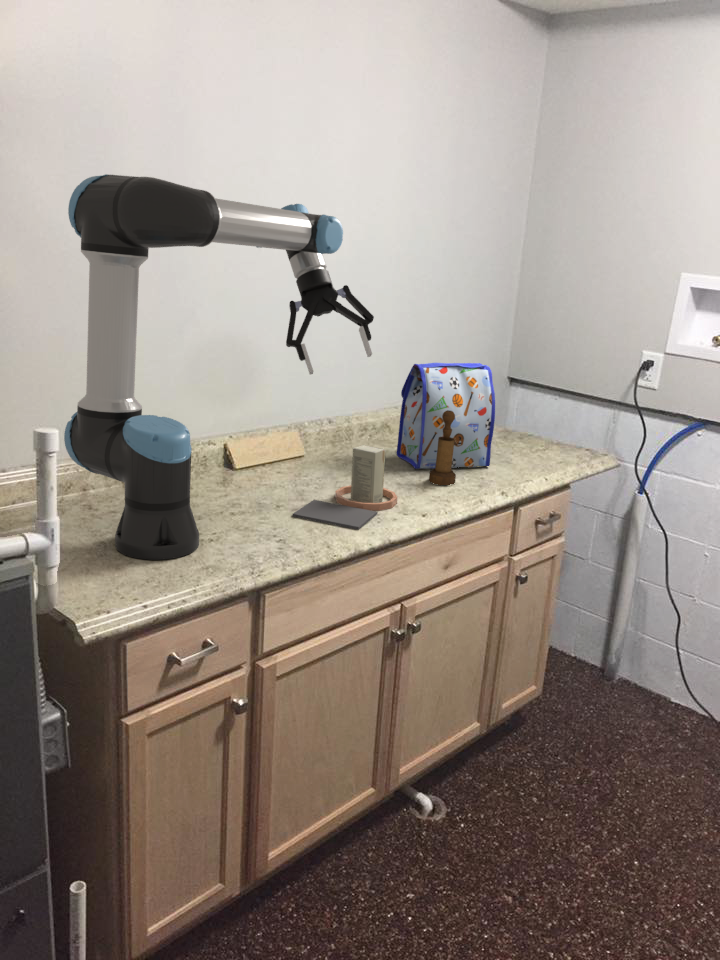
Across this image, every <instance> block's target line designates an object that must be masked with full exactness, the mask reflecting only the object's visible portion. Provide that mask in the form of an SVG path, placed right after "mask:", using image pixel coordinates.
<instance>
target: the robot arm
mask: <svg viewBox="0 0 720 960" xmlns="http://www.w3.org/2000/svg"><path fill="white" fill-rule="evenodd" d="M67 209H68V212H67V214H68V220H69V222H70V226H71V227H72V228H73V229H74V232H75V234H76V235H77V236H79V238H80V252H81V253H82V255H83V256H84V257H85V258H86V259H87V260H88V262H89V271H88V275H89V276H88V310H87V313H88V314H87V345H86V346H87V352H86V389H85V390H86V394H85V395H84V396H83V397H82V398H81V399H80V400H79V401H78V402H77V407H76V408H77V411H76V412H75V413H74V414H72V415H71V419H70V420H69V421H67V423H66V425H65V429H64V434H63V436H64V439H63V440H64V447H65V450H66V452H67V454H68V455H69V457H70V459H71V460H72V461H73V462H74V463H75V464H76V465H78V466H80V467H81V468H83V469H85V470H87V471H88V472H89V473H92V474H97V475H101V476H104V477H106V478H110V479H113V480H116V481H118V482H121V483H124V506H123V509H122V513H121V517H120V519H119V523H118V525H117V528H116V531H115V537H114V538H115V539H114V541H115V545H114V546H115V549H116V550H117V551H118V552H119V553H121V554H123V555H124V556H127V557H131V558H135V559H139V560H148V561H149V560H152V561H153V560H155V561H156V560H159V561H160V560H161V561H162V560H170V559H176V558H181V557H184V556H186V555H190V554H192V553H194V551H196V550H197V549H198V548H199V547H200V532H199V529H198V526H197V523H196V519H195V515H194V513H193V510H192V508H191V477H192V476H191V473H192V471H191V470H192V467H191V466H192V451H193V449H192V448H193V447H192V445H191V434H190V430H189V429H188V427H187V426H186V425H185V424H183V422H180V421H179V420H177V419H174V418H171V417H168V416H158V415H154V414H142V412H143V406H142V404H141V403H140V402H139V401H138V400H137V399H136V398H135V385H136V384H135V381H136V358H137V357H136V355H137V353H136V352H137V333H138V332H137V331H138V330H137V328H138V304H139V283H140V282H139V281H140V280H139V277H140V267H141V266H142V265H143V264H144V263H145V262H146V261H147V260H148V259H149V249H150V248H151V249H155V248H156V249H157V248H158V249H159V248H171V247H172V248H175V247H197V248H204V247H206V246H208V245H210V244H212V243H217V244H224V245H225V244H226V245H227V244H228V245H239V246H247V247H255V248H258V249H260V248H266V249H272V250H273V249H274V250H275V249H276V250H283V251H285V252H286V255H287V258H288V261H289V263H290V266H291V270H292V272H293V276H294V278H295V279H296V281H295V283H296V285H297V288H298V291H299V295H300V299H301V300H298V301H294V300H291V301H289V307H288V308H289V312H290V316H289V321H288V328H287V334H286V335H287V336H286V341H285V345H286V347H287V348H295V350H296V353H297V356H298V359H299V360H300V362H303V361H305V365H306V367H307V370H308V374H309V375H313V374H314V369H313V366H312V362H311V360H310V356H309V354H308V350H307V347H306V343H302V342H303V340H304V337H305V336H306V333H307V330H308V328H309V325H310V323H311V322H312V319H313V317H314V316H315V317H321V316H323V315H329V314H331V312H333V311H334V312H336V313H337V314H340V315H341V316H343V317H345V318H346V319H348V320H349V321H351V322H352V323H353V324H356V325H357V326H359V328H358V332H359V335H360V338H361V341H362V344H363V347H364V350H365V353H366V355H367V358H370V357H372V355H373V352H372V348H371V346H370V342H369V341H371V340H372V334H371V330H370V329H369V328H370V327H369V325H370V324H371V323H373V321H374V318H375V316H374V314H372V313H371V312H370V311H369V310H368V309H367V308H366V307H365V306H364V305H363V304H362V303H361V302H360V300H359V299H358V298H356V296H354V295H353V293H352V292H351V289H350V287H349V285H347V284H345V285H343V286H342V288H339V289H337V290H336V289H335V287H334V284H333V282H332V280H331V279H332V278H331V276H330V272H329V270H327V264H326V261H325V258H324V255H325V254H327V255H328V254H335V253H337V251H338V250H339V249H340V247H341V246H342V243H343V241H344V240H343V239H344V238H343V237H344V229H343V224H342V222H341V221H340V220H339V219H338V218H337V217H336V216H333V215H332V216H331V215H327V214H315V213H309V211H308V209H307V207H306V206H305V205H304V204H302V203H294V204H292V203H291V204H288V205H285V206H283V207H281V208H277V207H272V206H265V205H260V204H259V205H258V204H253V203H252V204H251V203H246V202H239V201H235V200H234V201H233V200H228V199H221V198H215V196H214V195H213V194H212V193H211V192H209V191H207V190H204V189H198V188H194V187H190V186H185V185H181V184H179V183H175V182H173V181H172V182H171V181H168V180H165V179H160V178H156V177H153V176H152V177H151V176H132V175H131V176H130V175H121V174H119V175H117V174H107V173H105V174H103V175H94V176H89V177H87V178H86V179H85V178H84V180H82V181H81V182H80V183H79V184H78V185H76V187H75V188H74V189H73V192H72V193H71V196H70V199H69V201H68V208H67ZM323 254H324V255H323ZM338 296H339V297H341V298H342V299H345V300H346V301H347V302H348V303H349V305H351V306H352V308H353V309H354V310H355V311H357V312H358V314H359V315H358V314H357V313H355V312H353V311H352V310H350V309H349V308H348V307H346V306H344V305H343V304H342V303H341V302H339V301H338ZM301 307H302V308H303V309H305V310H306V315H305V317H304V320H303V322H302V324H301V327H300V329H299V330H298V334H297V335H296V337H295V339H293V337H294V331H295V327H296V321H297V320H296V319H297V313H298V312H300V308H301Z"/></svg>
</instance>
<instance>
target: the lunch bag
mask: <svg viewBox="0 0 720 960" xmlns="http://www.w3.org/2000/svg"><path fill="white" fill-rule="evenodd" d="M400 395H401V398H402V401H401V408H400V416H399V426H398V427H399V428H398V433H397V435H398V436H397V437H398V438H397V446H396V456H397V457H398V458H399V459H401V460H403V461H405V462H407V463H408V464H410V465H412V467H413V468H414V469H415V470H418V469H421V470H422V469H424V470H428V469H431V470H433V469H434V468H435V466H436V458H437V449H438V439H439V437H444V436H443V428H444V427H445V423H444V421H443V418H442V415H443V413H444V412H445V411H447V410H449V411H453V412H454V414H455V419H454V421H453V422H452V424H451V429H452V433H451V435H450V437H451V438H453V439H455V441H454V449H453V458H452V466H451V469H455V468H457V467H458V468H459V467H468V468H477V467H476V466H489V467H490V466H491V456H492V455H491V453H492V452H491V451H492V449H491V448H492V442H493V441H492V440H493V435H494V429H495V419H496V393H495V387H494V383H493V372H492V369H491V367H490V366H488V365H487V364H482V363H480V362H476V363H475V362H472V363H471V362H467V363H465V362H464V363H463V362H462V363H460V362H454V363H453V362H451V363H447V362H446V363H445V362H428V363H419V364H418V363H414V364H413V365H412V367H411V369H410V371H409V373H408V375H407V377H406V379H405V381H404V383H403V386H402V388H401V394H400ZM459 469H460V468H459Z"/></svg>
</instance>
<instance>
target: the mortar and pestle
mask: <svg viewBox="0 0 720 960" xmlns="http://www.w3.org/2000/svg"><path fill="white" fill-rule="evenodd" d="M442 418H443V421H444V423H445V427H444V428H443V436H444V437H439V439H438V449H437V458H436V466H435V468H434V469H431V470H430V471H429V477H428V482H429V481H430V483H431V482H432V483H431V484H433V483H434V484H433V485H435V484H438V485H437V486H441V485H450V484H454V483H455V484H456V479H457V478H456V477H457V475H456V472H454V471H453V469H452V468H451V466H452V458H453V449H454V441H455V439H453V438H451V437H450V435H451V433H452V429H451V424H452V422H453V421H454V419H455V414H454V412H453V411H449V410H447V411H445V412H444V413H443V415H442ZM455 484H454V485H455Z"/></svg>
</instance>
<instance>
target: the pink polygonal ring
mask: <svg viewBox="0 0 720 960" xmlns="http://www.w3.org/2000/svg"><path fill="white" fill-rule="evenodd" d="M334 493H335V495H334V496H335V497H334V499H335V501H336V504H340V505H345V506H350V507H355V508H360V509H366V510H371V511H376V512H379V511H384V510H390V509H392V508H394V507H395V506H396V505H397V504H398V496H397V494H396V492H395V491H392V490H390V489H388V488H385V487H383V497H385V498H388V499H389V500H386V501H381V502H379V503H362V502H358V501H354V500H351V499H349V498H346V497H344V495H345V494H351V484H350V485H344V486H341V487H340V488H338V489H337V490H335V491H334Z"/></svg>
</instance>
